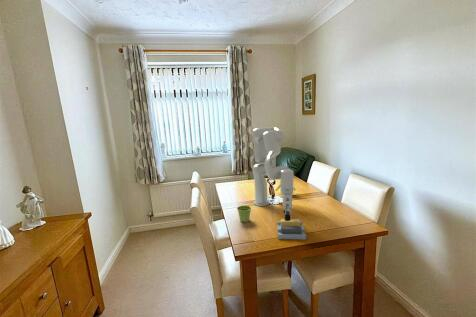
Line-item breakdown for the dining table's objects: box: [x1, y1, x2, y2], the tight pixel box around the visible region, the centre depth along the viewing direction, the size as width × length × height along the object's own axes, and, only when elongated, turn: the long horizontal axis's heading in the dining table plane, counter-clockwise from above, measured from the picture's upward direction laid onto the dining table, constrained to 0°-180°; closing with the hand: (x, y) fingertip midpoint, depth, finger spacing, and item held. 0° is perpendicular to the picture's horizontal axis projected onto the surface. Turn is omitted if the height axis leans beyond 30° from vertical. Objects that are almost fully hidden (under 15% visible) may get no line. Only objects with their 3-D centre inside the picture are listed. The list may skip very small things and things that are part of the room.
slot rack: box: [276, 221, 307, 240], centre depth 134 cm, size 16×15×2 cm
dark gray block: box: [281, 226, 302, 234], centre depth 130 cm, size 11×4×4 cm, turn 83°
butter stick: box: [280, 218, 301, 226], centre depth 138 cm, size 11×4×4 cm, turn 82°
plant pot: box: [236, 204, 252, 223], centre depth 152 cm, size 9×9×9 cm
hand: (286, 216), depth 140 cm, fingers open, 9 cm apart
